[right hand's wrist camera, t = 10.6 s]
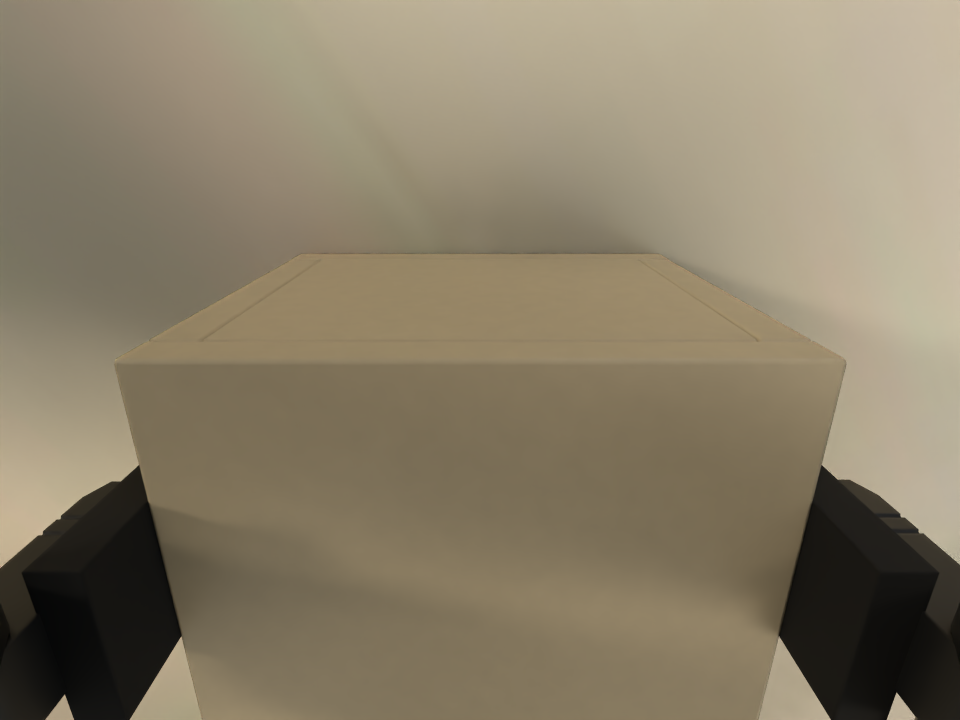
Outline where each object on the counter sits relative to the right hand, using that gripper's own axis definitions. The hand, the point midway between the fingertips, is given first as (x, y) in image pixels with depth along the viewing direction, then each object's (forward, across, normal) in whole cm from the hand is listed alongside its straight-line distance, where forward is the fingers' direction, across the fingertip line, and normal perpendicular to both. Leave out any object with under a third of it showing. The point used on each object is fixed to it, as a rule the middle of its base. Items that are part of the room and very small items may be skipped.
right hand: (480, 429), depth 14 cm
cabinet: (+4, 0, -6) cm, 7 cm away
